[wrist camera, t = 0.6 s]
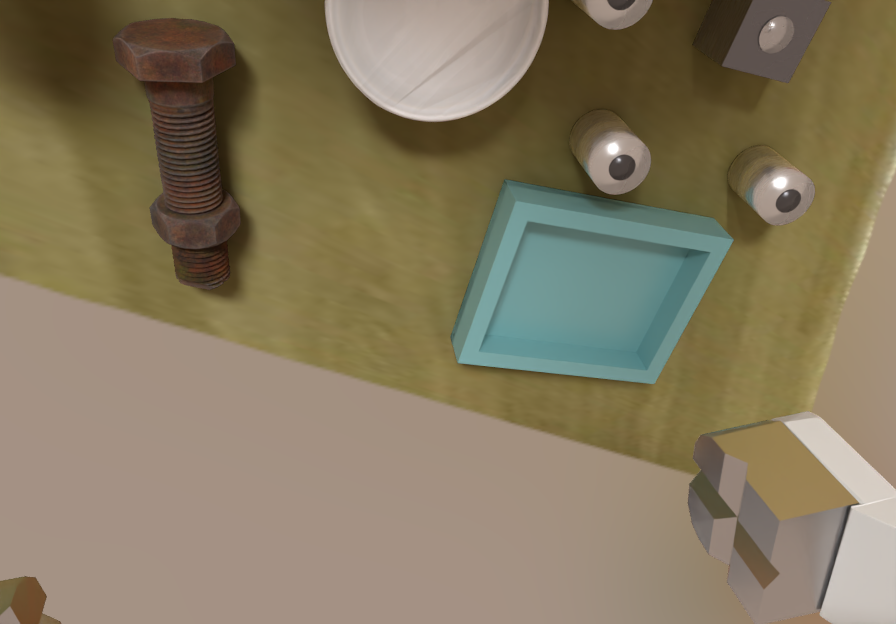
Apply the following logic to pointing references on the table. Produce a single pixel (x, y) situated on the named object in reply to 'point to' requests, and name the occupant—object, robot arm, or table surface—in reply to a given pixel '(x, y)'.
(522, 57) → the ramekin
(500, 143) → the table surface
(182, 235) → the bolt
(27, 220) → the table surface
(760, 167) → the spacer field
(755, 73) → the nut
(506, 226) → the tray
